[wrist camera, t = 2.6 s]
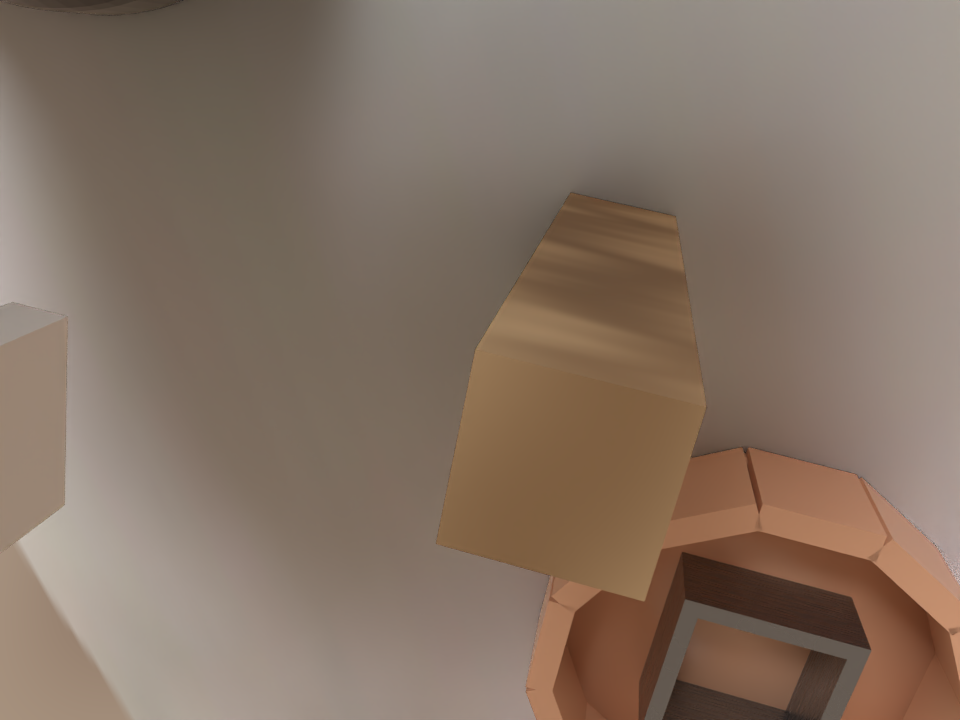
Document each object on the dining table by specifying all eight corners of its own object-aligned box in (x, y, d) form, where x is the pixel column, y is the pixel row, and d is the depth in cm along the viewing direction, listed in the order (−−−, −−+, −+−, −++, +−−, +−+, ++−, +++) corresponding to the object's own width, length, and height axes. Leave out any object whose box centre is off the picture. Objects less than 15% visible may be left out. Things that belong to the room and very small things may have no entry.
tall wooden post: (547, 292, 25) (436, 543, 12) (570, 192, 24) (475, 349, 11) (647, 316, 25) (644, 601, 12) (675, 216, 24) (706, 407, 11)
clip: (639, 681, 28) (637, 737, 26) (682, 551, 26) (685, 599, 24) (796, 726, 28) (809, 787, 25) (851, 597, 26) (871, 650, 23)
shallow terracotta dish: (511, 720, 30) (494, 799, 27) (594, 408, 26) (586, 458, 23) (866, 826, 29) (894, 922, 26) (1020, 515, 24) (1077, 585, 21)
